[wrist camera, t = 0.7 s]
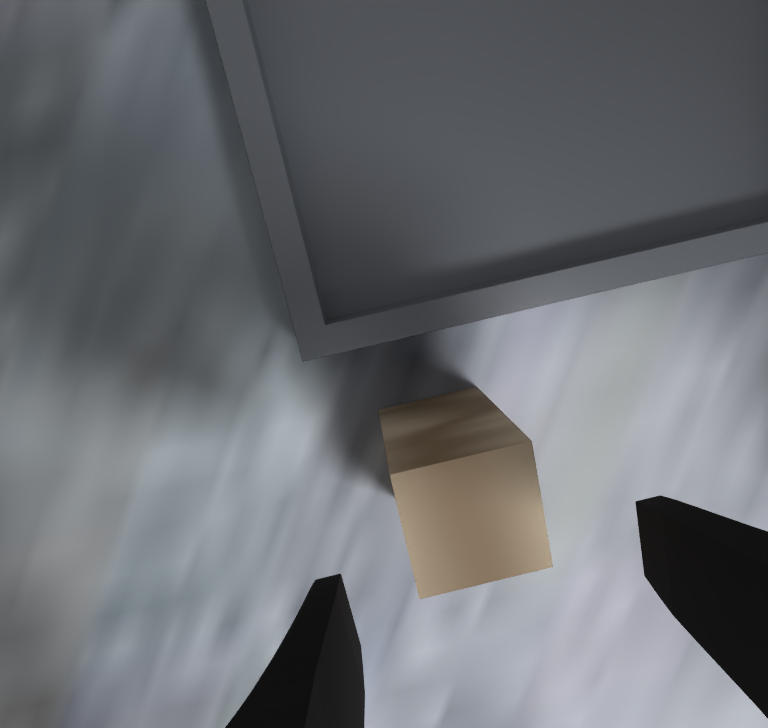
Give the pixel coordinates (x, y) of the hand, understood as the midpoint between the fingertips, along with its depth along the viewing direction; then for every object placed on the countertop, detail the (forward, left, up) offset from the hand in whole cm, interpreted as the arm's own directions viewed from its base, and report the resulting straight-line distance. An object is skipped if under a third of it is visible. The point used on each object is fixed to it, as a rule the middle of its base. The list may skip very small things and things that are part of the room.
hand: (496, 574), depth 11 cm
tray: (-6, -13, -8) cm, 17 cm away
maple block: (0, 0, -8) cm, 8 cm away
